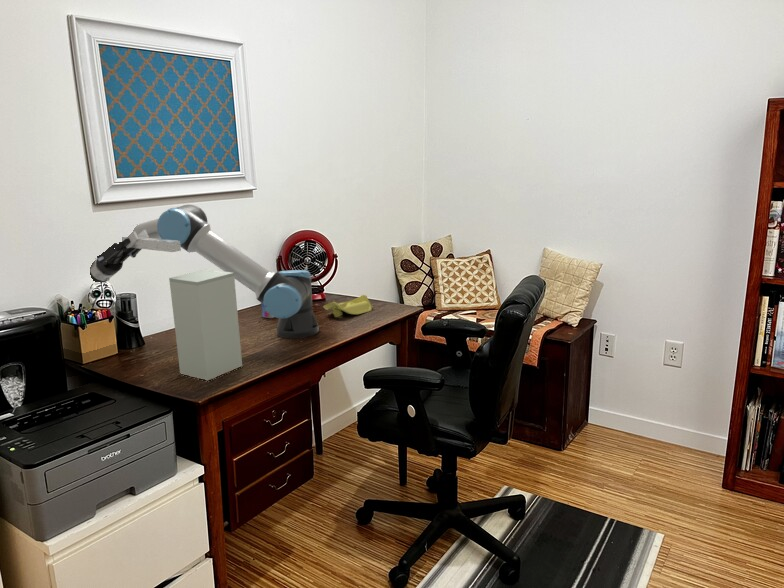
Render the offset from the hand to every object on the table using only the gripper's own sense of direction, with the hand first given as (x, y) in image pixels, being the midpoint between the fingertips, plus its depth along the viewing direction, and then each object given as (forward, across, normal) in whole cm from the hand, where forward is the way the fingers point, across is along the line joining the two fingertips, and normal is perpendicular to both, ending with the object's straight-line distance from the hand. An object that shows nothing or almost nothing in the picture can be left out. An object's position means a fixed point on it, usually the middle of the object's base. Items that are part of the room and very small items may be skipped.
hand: (141, 234), depth 196 cm
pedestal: (+2, 0, -48) cm, 48 cm away
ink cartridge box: (-20, -57, -36) cm, 70 cm away
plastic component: (+1, -72, -48) cm, 87 cm away
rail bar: (+2, 0, -6) cm, 6 cm away
